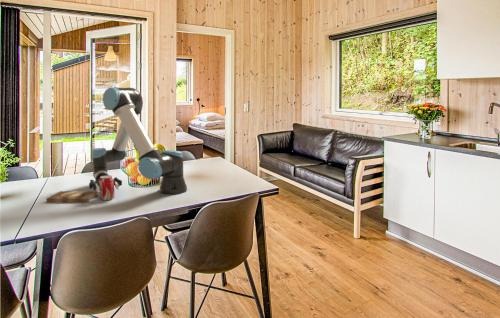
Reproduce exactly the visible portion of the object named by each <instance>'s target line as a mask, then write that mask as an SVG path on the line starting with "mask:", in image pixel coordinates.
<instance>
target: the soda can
mask: <svg viewBox="0 0 500 318" xmlns="http://www.w3.org/2000/svg"><path fill="white" fill-rule="evenodd" d="M113 179H114V177H113V175H111V174H109V175H105V176H101V177H100V179H99V186H98V189H99V197H100V200H102V201H112V200H113V199H115V186H114V181H113Z"/></svg>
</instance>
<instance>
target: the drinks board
mask: <svg viewBox="0 0 500 318" xmlns="http://www.w3.org/2000/svg"><path fill="white" fill-rule="evenodd" d="M98 193H99V192H97V191H81V190H75V191H71V190H70V191H63V190H61V191H58V192H56V193H54V194H53V195H50V196H49V197H47V198H46V203H69V204H70V203H75V204H76V203H79V204H80V203H84V204H85V203H88V202H90V201H91V200H93V199H94V198H96V197H97V196H98V195H99V194H98Z"/></svg>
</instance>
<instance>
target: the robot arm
mask: <svg viewBox="0 0 500 318" xmlns="http://www.w3.org/2000/svg"><path fill="white" fill-rule="evenodd" d="M102 96H103V97H102V103H103V106H104V108H105V109H106V110H108V111H112V113H113V114H114V116H115V117H118V118H119V119H120V124H119V127H118V130H117V132H116V137H115V139H114V142H113V144H112V148H111V149H107V148H104V147H95V148H93V149H92V153H91V158H92V165H93V166H92V170H93V173H92V175H93V178H94V179H90V180H89V181H90V182H89V184H88V188H89V189H90V190H91V189H93V191H96V192H97V193H100V191H99V179H100V177H101V176H105V175H110V174H109V173H108V164H111V163H115V162H120V161H123V159H124V158H125V157H127V158H128V151H127V146H128V143H129V141H130V140H131V142H132V144H133V145H134V147H135V149H136V151H137V154H138V155H139V156H138V164H137V165H138V167H137V168H138V171H139V173H140V174H141V176H142V177H143V178H145V179H147V180H154V179H155V180H156V179H159V178H161V177H162V178H161V182H160V186H159V192H160V193H161V194H165V195H177V194H183V193H185V192H187V190H188V186H187V183H186V181H185V178H184V155H183V152H182V151H180V150H174V149H173V150H171V149H169V150H168V149H165V150H161V151H160V148H157V147H155V146H154V144H153V142H152V141H151V139H150V137H149V135H148V133H147V131H146V130H145V127H144V126H143V123H142V122H141V120H140V119H139V115H141V113H142V109H143V107H144V105H143V104H144V102H143V99H144V98H143V97H142V94H141V93H140V91H138V89H136V88H134V87H116V86H113V87H108V88H107V89H105V90H104V93H103V95H102ZM106 149H107V150H106ZM124 160H125V159H124ZM113 181H114V188H115V189H116V190H118V191H119V187H121V186H123V181H122V179H119V178H118V177H117V176H116V177H113Z"/></svg>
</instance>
